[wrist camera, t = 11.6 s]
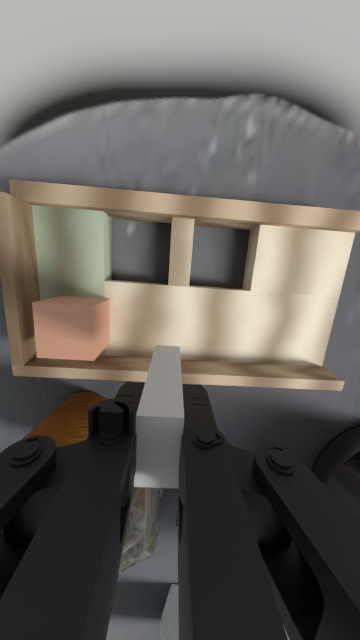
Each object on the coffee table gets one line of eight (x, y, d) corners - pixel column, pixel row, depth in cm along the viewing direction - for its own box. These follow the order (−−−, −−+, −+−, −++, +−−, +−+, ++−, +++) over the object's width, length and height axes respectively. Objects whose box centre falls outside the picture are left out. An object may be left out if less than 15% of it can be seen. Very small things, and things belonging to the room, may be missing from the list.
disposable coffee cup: (47, 374, 24) (-71, 474, 12) (130, 383, 25) (92, 485, 13) (48, 442, 26) (-52, 581, 14) (123, 449, 27) (86, 587, 15)
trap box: (338, 221, 21) (394, 204, 16) (305, 364, 25) (342, 390, 19) (37, 194, 20) (-14, 166, 14) (49, 351, 23) (13, 375, 18)
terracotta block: (110, 298, 20) (92, 306, 15) (110, 342, 21) (93, 360, 16) (62, 295, 19) (32, 302, 15) (65, 339, 20) (36, 357, 16)
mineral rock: (76, 512, 29) (27, 634, 19) (63, 449, 27) (0, 554, 17) (167, 506, 29) (165, 623, 20) (163, 443, 27) (158, 542, 17)
